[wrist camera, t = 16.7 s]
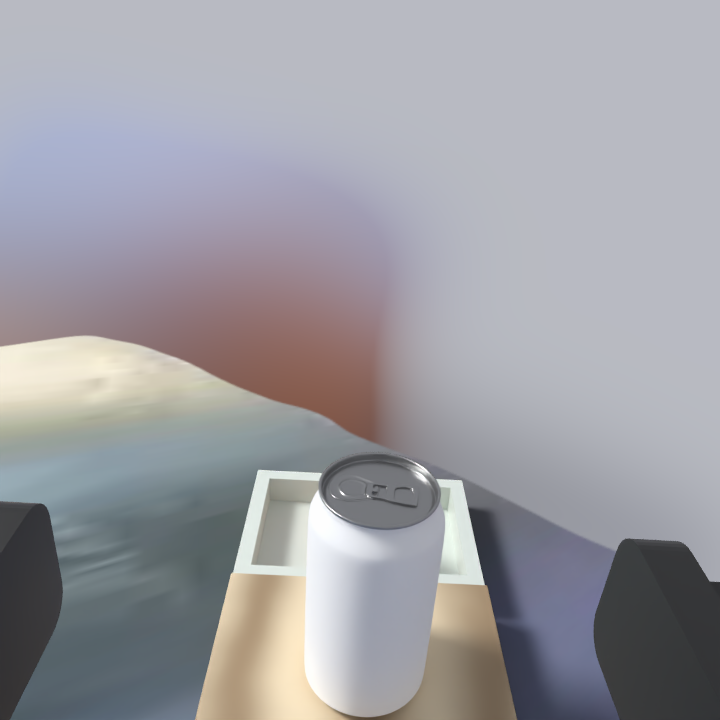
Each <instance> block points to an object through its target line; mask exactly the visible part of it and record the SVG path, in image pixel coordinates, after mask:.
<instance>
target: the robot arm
mask: <svg viewBox="0 0 720 720" xmlns="http://www.w3.org/2000/svg"><path fill="white" fill-rule="evenodd" d="M62 593H63V588H62V579H61V574H60V569H59V563H58V558H57V553H56V547H55V542H54V536H53V531H52V526H51V520H50V516H49V512H48V510H47V508H46V506H45V505H43V504H39V503H21V502H3V501H0V720H10V718H11V716H12V714H13V712H14V710H15V708H16V706H17V704H18V702H19V700H20V698H21V696H22V694H23V692H24V690H25V688H26V686H27V684H28V682H29V680H30V678H31V676H32V674H33V672H34V670H35V668H36V666H37V664H38V662H39V660H40V658H41V656H42V654H43V652H44V650H45V648H46V646H47V644H48V642H49V640H50V638H51V636H52V634H53V631H54V629H55V627H56V624H57V621H58V618H59V614H60V610H61V604H62ZM594 643H595V650H596V654H597V658H598V661H599V664H600V667H601V670H602V672H603V675H604V678H605V680H606V683H607V686H608V688H609V691H610V694H611V697H612V699H613V702H614V705H615V707H616V710H617V713H618V715H619V718H620V720H720V582H710V581H709V580H708V578H707V577H706V575H705V573H704V572H703V570H702V568H701V567H700V565H699V564H698V562H697V560H696V559H695V557H694V556H693V554H692V552H691V551H690V550H689V548H688V547H687V546H686V545H684V544H683V543H681V542H678V541H661V540H644V539H625V540H623V541H622V542H621V543H620V545H619V547H618V549H617V551H616V554H615V557H614V560H613V563H612V566H611V569H610V572H609V575H608V578H607V581H606V584H605V587H604V590H603V593H602V596H601V599H600V602H599V605H598V608H597V610H596V614H595V619H594Z"/></svg>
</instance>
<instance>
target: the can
mask: <svg viewBox="0 0 720 720" xmlns="http://www.w3.org/2000/svg"><path fill="white" fill-rule="evenodd" d="M440 498H441V491H440V486H439V484H438V482H437V480H436V478H435V477H434V476H433V475H432V473H431V472H430V471H428V470H427V469H426V468H425V467H423V466H422V465H420V464H419V463H417V462H415V461H413V460H411V459H408V458H406V457H403V456H399V455H395V454H391V453H383V452H364V453H357V454H352V455H348V456H345V457H343V458H340V459H338V460H337V461H335V462H333V463H332V464H330V465H329V466H328V467H327V468H326V469H325V470H324V472H323V473H322V475H321V477H320V479H319V484H318V491H317V492H316V494H315V496H314V497H313V499H312V502H311V504H310V509H309V516H308V535H307V565H306V601H305V642H304V665H305V673H306V677H307V680H308V682H309V684H310V686H311V688H312V690H313V691H314V692H315V694H316V695H317V696H318V697H319V698H320V699H321V700H322V701H323V702H325V703H326V704H327V705H329V706H330V707H332V708H333V709H335V710H337V711H340V712H342V713H345V714H348V715H352V716H358V717H376V716H382V715H386V714H389V713H392V712H394V711H396V710H398V709H400V708H401V707H403V706H404V705H406V704H407V703H408V702H409V701H410V700H411V699H412V698H413V697H414V695H415V694H416V693H417V691H418V689H419V687H420V685H421V682H422V679H423V675H424V669H425V663H426V657H427V651H428V644H429V638H430V631H431V625H432V618H433V611H434V605H435V598H436V591H437V585H438V578H439V571H440V564H441V557H442V550H443V543H444V535H445V515H444V511H443V508H442V505H441V503H440Z"/></svg>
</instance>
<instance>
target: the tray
mask: <svg viewBox="0 0 720 720" xmlns="http://www.w3.org/2000/svg"><path fill="white" fill-rule="evenodd" d="M321 475H322V473H307V472H287V471H268V470H258V473H257V477H256V481H255V486H254V490H253V494H252V498H251V502H250V506H249V510H248V514H247V518H246V522H245V526H244V531H243V535H242V539H241V543H240V547H239V551H238V555H237V559H236V563H235V567H234V572H233V573H244V574H264V575H285V576H305V577H306V565H307V535H308V516H309V509H310V504H311V502H312V499H313V497H314V496H315V494H316V492H317V491H318V484H319V479H320V477H321ZM436 480H437V482H438V484H439V486H440V491H441V498H440V503H441V505H442V508H443V511H444V515H445V535H444V543H443V550H442V557H441V564H440V571H439V578H438V583H449V584H470V585H484V580H483V575H482V571H481V566H480V562H479V557H478V553H477V548H476V544H475V539H474V534H473V530H472V525H471V521H470V516H469V512H468V507H467V502H466V498H465V493H464V489H463V484H462V481H461V480H441V479H436Z"/></svg>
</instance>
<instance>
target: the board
mask: <svg viewBox="0 0 720 720" xmlns="http://www.w3.org/2000/svg"><path fill="white" fill-rule="evenodd" d="M305 601H306V577H305V576H285V575H264V574H244V573H231V577H230V581H229V585H228V589H227V593H226V597H225V601H224V605H223V609H222V613H221V617H220V621H219V625H218V629H217V634H216V638H215V642H214V646H213V650H212V654H211V658H210V662H209V666H208V670H207V674H206V678H205V682H204V686H203V690H202V694H201V698H200V702H199V706H198V710H197V714H196V718H195V720H517V717H516V712H515V708H514V703H513V699H512V695H511V690H510V686H509V681H508V677H507V672H506V668H505V663H504V659H503V654H502V650H501V645H500V641H499V636H498V632H497V627H496V623H495V618H494V614H493V609H492V605H491V601H490V596H489V592H488V587H487V585H470V584H449V583H438V585H437V591H436V598H435V605H434V611H433V618H432V625H431V631H430V638H429V644H428V651H427V657H426V663H425V669H424V675H423V679H422V682H421V685H420V687H419V689H418V691H417V693H416V694H415V695H414V697H413V698H412V699H411V700H410V701H409V702H408V703H407V704H406V705H404V706H403V707H401V708H400V709H398V710H396V711H394V712H392V713H389V714H386V715H382V716H376V717H358V716H352V715H348V714H345V713H342V712H340V711H337V710H335V709H333V708H332V707H330V706H329V705H327V704H326V703H325V702H323V701H322V700H321V699H320V698H319V697H318V696H317V695H316V694H315V692H314V691H313V690H312V688H311V686H310V684H309V682H308V680H307V677H306V673H305V665H304V642H305Z"/></svg>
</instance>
